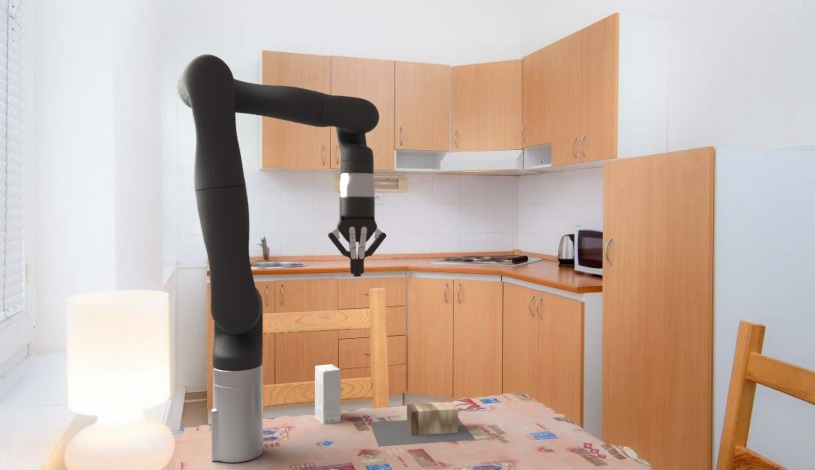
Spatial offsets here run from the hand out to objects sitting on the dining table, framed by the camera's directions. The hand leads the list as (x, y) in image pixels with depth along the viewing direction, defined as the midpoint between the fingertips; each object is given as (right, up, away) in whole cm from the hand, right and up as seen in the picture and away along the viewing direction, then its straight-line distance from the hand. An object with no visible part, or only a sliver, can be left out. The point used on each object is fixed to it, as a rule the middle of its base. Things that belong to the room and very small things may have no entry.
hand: (357, 276), depth 131 cm
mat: (+14, -33, -1) cm, 36 cm away
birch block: (+11, -30, -2) cm, 32 cm away
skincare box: (-7, -33, +6) cm, 34 cm away
